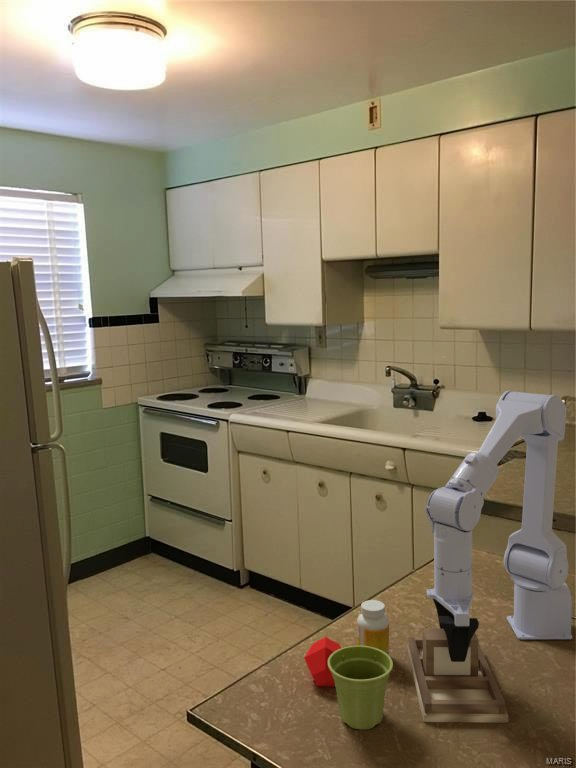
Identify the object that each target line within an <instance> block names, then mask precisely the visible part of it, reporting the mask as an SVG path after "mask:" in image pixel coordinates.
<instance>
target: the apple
mask: <svg viewBox="0 0 576 768" xmlns="http://www.w3.org/2000/svg"><path fill="white" fill-rule="evenodd" d="M341 648H342V646H341V645H340V643H338V642H336V641H335V640H332V639H331V638H329V637H328V636H324V637H322V638H321V639H319V640H317V641H315V642H313V643H312V644H311V646H310V647H309V649H308V651H307V653H306V654H305V656H304V657H303V658H304V661H305V663H306V665H307V667H308V670H309V672H310V675H311V677H312V678H313V680H314V682H315V684H316V686H317V687H329V688H331V687H332V688H333V687H336V686H335V681H334V678H333V676H332V672H331V671H330V669H329V667H328V658H329V657H330V655H331V654H332V653H333V652H335V651H337V650H338V649H341Z"/></svg>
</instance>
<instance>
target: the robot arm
mask: <svg viewBox="0 0 576 768" xmlns="http://www.w3.org/2000/svg"><path fill="white" fill-rule="evenodd" d="M566 420H567V406H566V404H565V403H564V401H563V399H562V398H561V396H560V395H557V394H541V393H534V392H533V393H531V392H530V393H529V392H523V391H522V392H519V391H515V390H506V391H504V392H503V393H502V395H501V396H500V397H499V399H498V402H497V403H496V405H495V421H494V423H493V425H492V426H491V428H490V430H489V432H488V434H487V435H486V437H485V438H484V440H483V442H482V444H481V446H480V447H479V449H478V451H477V452H471V453H468V454H467V455H466V456H465V457H464V459H463V461H462V462H461V463H460V465H459V466H458V468H457V469H456V470H455V471H454V473H453V474H452V476H451V477H450V479H449V480H448V481H447V483H446V484H445V486H441V487H438V488H437V489H434V490H433V491H432V492H431V494H429V497H428V500H427V505H426V507H425V514H426V517H427V519H428V521H429V524H430V531H431V533H432V534H433V545H434V546H433V559H434V560H433V564H434V565H433V569H434V570H433V572H434V573H433V576H434V577H433V578H434V579H433V581H434V584H433V587H434V588H428V589H426V597H427V599H430V600H431V599H432V602H433V603H434V605H435V609H436V613H437V618H438V619H437V620H438V624H439V629H444V631H445V634H446V638H447V644H448V651H449V656H450V659H451V661H452V662H465V659H466V656H467V652H468V648H469V645H470V641H471V639H472V637H473V635H474V633H476V632H477V630H478V629H479V626H480V622H479V620H478V618H477V617H470V609H471V607H472V604H473V601H474V592H473V529H474V528H475V527H476V525H477V524H479V521H480V518H481V515H482V508H483V506H484V503H485V501H484V498H485V497H486V496H487V493H488V492H489V491H490V489H491V487H492V486H493V485H494V483H495V481H496V480H497V478H498V477H499V474H500V471H499V470H500V469H499V467H498V464H499V463H500V461H501V460H502V459H504V456H505V455H506V454H507V453H508V452H509V450H511V448H512V447H513V445H514V444H515V443H516V442H517V441H518V439H519V438H520V437H521V438H522V440H523V441H524V442H525V443H526V454H525V455H526V456H525V471H524V472H525V473H524V485H523V486H524V487H523V501H522V502H523V503H522V517H521V518H522V519H521V528H520V529H518V530H516V531H514V532H513V533H511V534H510V535H509V536H508V542H507V546H506V549H505V551H504V556H503V565H504V566H503V567H504V569H505V571H506V572H507V574H509V575H510V580H511V581H513V582H514V584H513V585H514V586H513V587H514V589H513V615H507V616H506V620H507V621H508V623H509V626H510V627H511V628H512V630H513V632H514V634H515V636H516V637H517V639H518V640H572V639H573V635H572V617H573V616H572V615H573V614H572V613H573V612H572V611H573V610H572V609H573V603H572V602H573V601H572V596H571V595H572V594H571V591H570V588H569V586H568V584H567V583H566V580H567V577H568V575H569V569H570V568H569V561H568V555H567V547H568V546H567V545H566V543H565V542H564V541H563V540H561V538H559V536H558V535H556V533H555V532H554V531H553V521H554V520H553V519H554V518H553V517H554V504H555V503H554V501H555V490H556V475H557V473H556V472H557V462H558V461H557V459H558V448H559V447H558V446H559V445H558V444H559V442H560V441H563V440H565V434H566V433H565V432H566V422H567V421H566Z"/></svg>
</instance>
